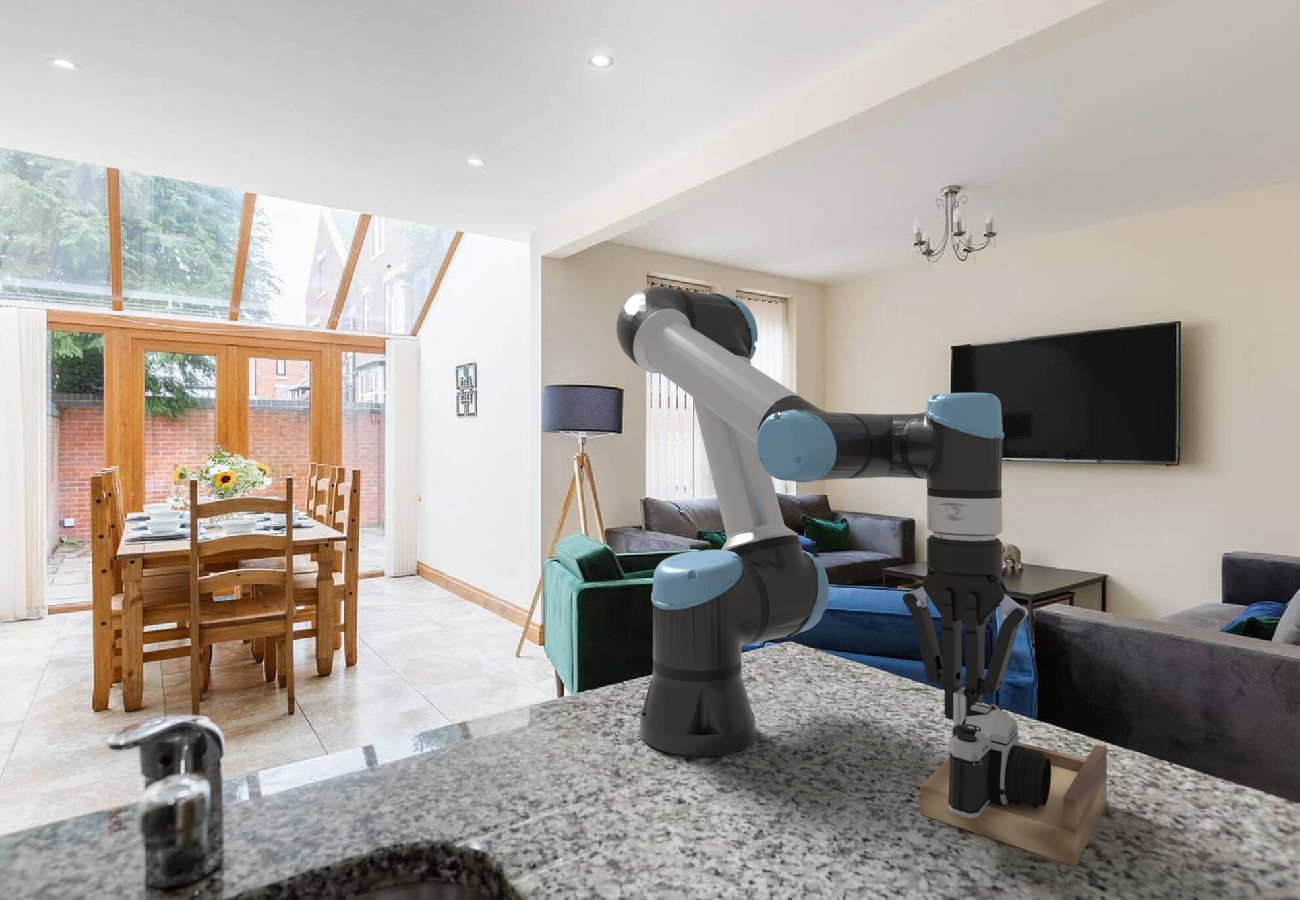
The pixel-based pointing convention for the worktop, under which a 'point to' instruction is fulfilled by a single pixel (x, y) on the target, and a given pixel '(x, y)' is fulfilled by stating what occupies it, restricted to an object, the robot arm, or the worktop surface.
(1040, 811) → the wooden corner tray
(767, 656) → the worktop surface
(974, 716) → the camera
